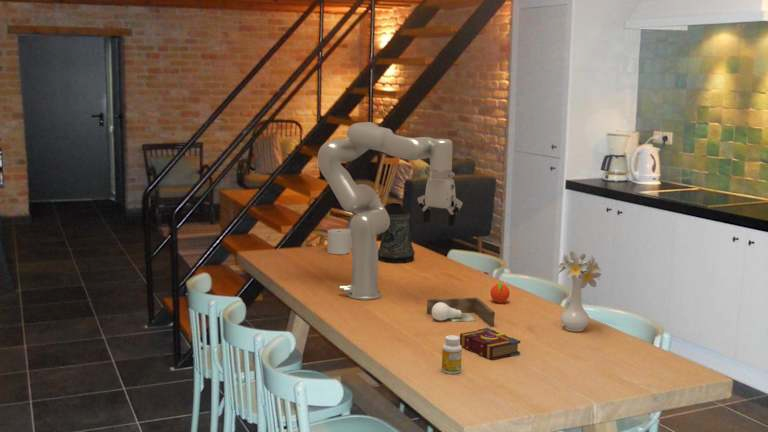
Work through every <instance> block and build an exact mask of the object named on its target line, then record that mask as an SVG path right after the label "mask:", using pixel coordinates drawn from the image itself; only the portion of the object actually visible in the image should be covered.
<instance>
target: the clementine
mask: <svg viewBox="0 0 768 432" xmlns="http://www.w3.org/2000/svg"><path fill="white" fill-rule="evenodd" d="M490 297H491V299H492V300H493V301H494V302H495V303H498V304H502V303H505V302H506V301H507V300H509V298H510V289H509V288H508V286H507V285H506V284H503V283H501V282H500V283H496V284H494V285H493V286H492V287H491V289H490Z"/></svg>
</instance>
